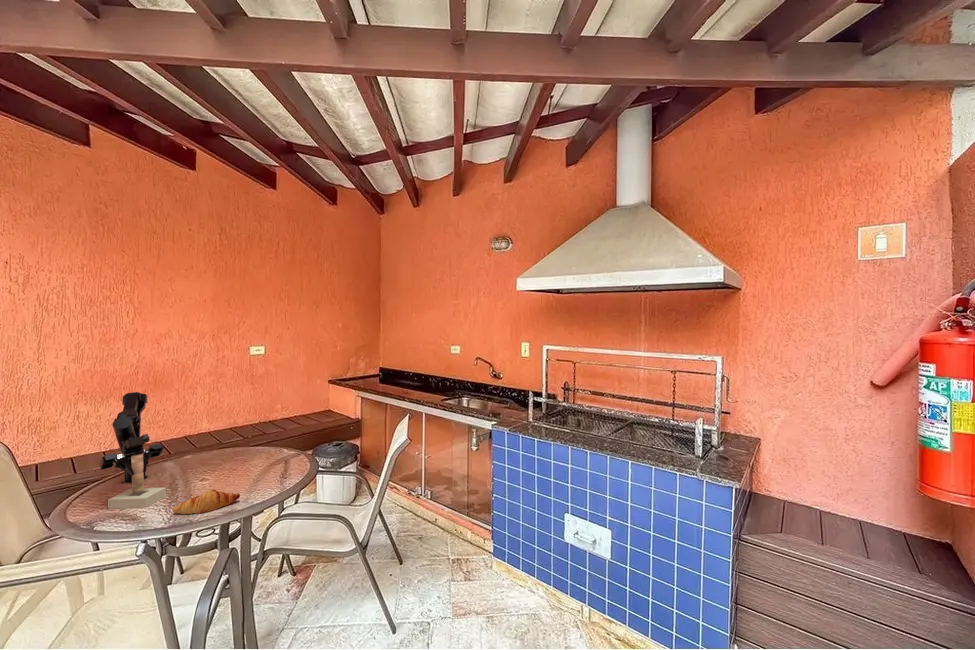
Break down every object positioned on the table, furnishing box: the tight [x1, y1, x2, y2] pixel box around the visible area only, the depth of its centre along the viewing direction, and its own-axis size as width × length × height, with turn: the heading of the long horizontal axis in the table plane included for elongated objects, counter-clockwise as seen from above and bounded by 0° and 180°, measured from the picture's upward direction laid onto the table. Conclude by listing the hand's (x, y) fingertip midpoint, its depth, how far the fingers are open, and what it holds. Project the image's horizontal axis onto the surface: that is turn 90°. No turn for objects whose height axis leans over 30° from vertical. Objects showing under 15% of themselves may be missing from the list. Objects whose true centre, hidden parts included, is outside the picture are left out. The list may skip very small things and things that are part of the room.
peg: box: [131, 454, 145, 493], centre depth 157 cm, size 4×4×14 cm
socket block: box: [107, 487, 167, 510], centre depth 157 cm, size 14×10×4 cm
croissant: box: [172, 488, 241, 515], centre depth 151 cm, size 21×10×8 cm, turn 120°
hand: (139, 473), depth 157 cm, fingers closed on peg, 3 cm apart
